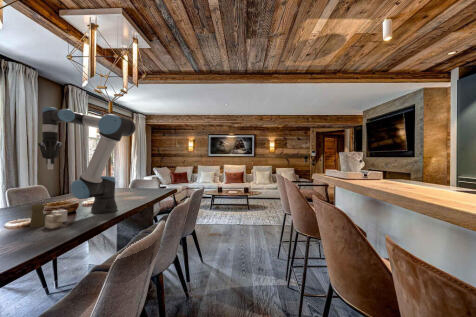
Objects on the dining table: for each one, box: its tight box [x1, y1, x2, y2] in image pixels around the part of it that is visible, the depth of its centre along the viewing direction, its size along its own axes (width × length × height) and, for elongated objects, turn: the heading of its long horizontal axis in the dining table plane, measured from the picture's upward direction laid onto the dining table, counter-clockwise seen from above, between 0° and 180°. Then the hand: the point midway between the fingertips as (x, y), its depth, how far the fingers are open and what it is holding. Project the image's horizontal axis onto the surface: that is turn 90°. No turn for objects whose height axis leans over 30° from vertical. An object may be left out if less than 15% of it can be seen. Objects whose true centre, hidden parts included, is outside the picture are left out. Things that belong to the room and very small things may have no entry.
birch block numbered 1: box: [44, 213, 63, 229], centre depth 116 cm, size 5×5×6 cm
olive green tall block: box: [29, 203, 45, 228], centre depth 117 cm, size 6×6×11 cm
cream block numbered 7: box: [51, 209, 68, 223], centre depth 125 cm, size 5×5×6 cm
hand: (50, 169), depth 144 cm, fingers closed
